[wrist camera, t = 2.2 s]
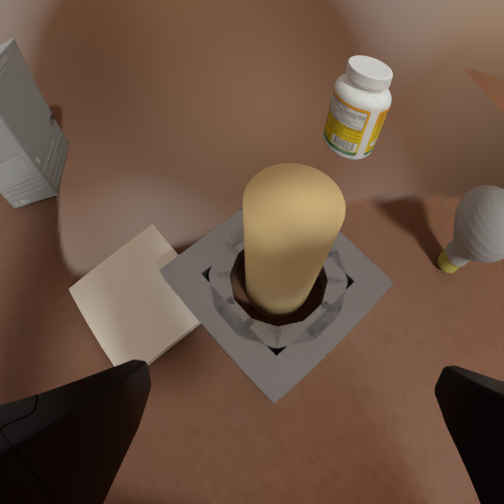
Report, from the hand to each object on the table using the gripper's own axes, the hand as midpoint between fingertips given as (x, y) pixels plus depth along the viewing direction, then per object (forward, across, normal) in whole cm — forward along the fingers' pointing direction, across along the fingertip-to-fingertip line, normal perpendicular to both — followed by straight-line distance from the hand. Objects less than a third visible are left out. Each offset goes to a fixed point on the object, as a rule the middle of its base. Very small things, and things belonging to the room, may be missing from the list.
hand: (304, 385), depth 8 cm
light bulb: (+17, +15, -2) cm, 23 cm away
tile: (+14, -10, -5) cm, 18 cm away
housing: (+15, 0, -4) cm, 16 cm away
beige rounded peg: (+15, 0, -4) cm, 16 cm away
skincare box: (+23, -26, +4) cm, 35 cm away
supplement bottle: (+26, +7, +7) cm, 28 cm away
